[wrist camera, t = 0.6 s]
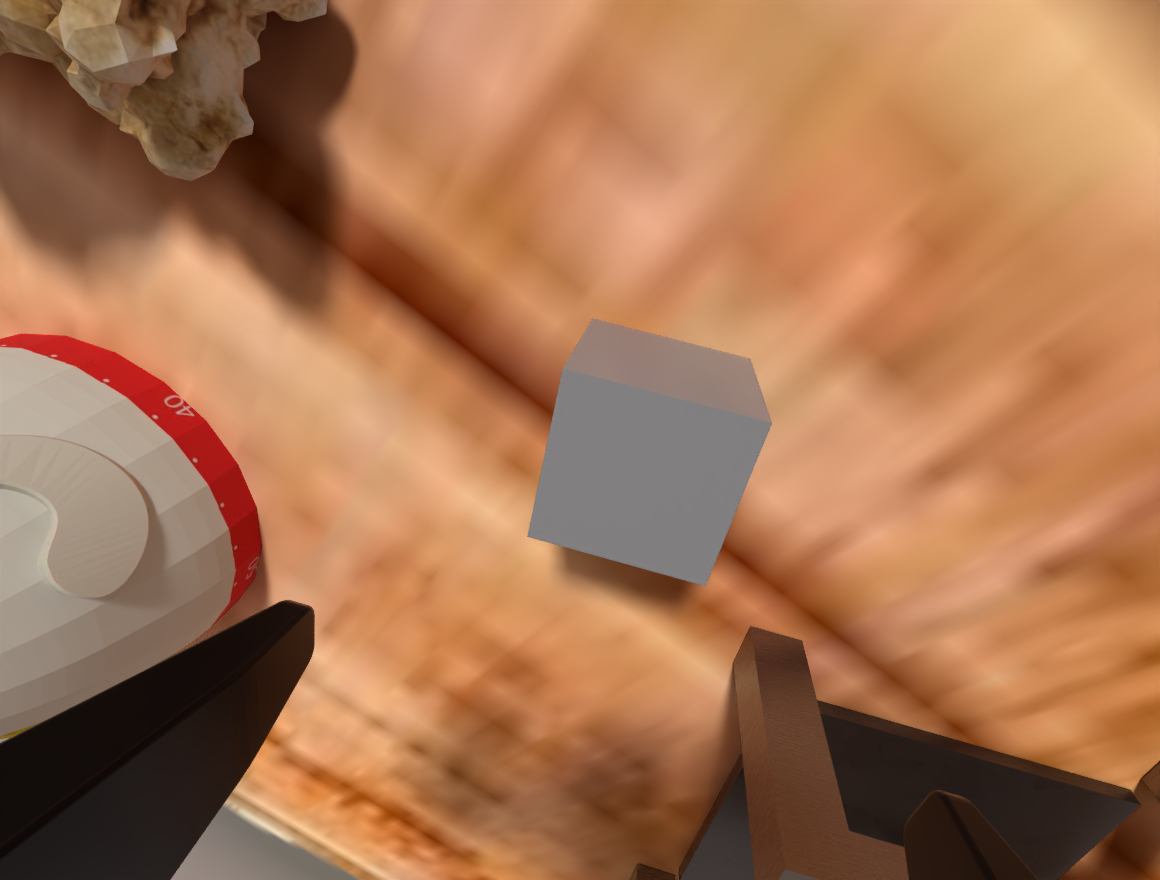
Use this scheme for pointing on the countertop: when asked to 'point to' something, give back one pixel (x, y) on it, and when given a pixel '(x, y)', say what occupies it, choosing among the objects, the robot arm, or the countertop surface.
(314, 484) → the countertop surface
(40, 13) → the mineral formation
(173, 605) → the kitchen timer
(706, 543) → the grey matte cube
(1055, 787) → the frame
